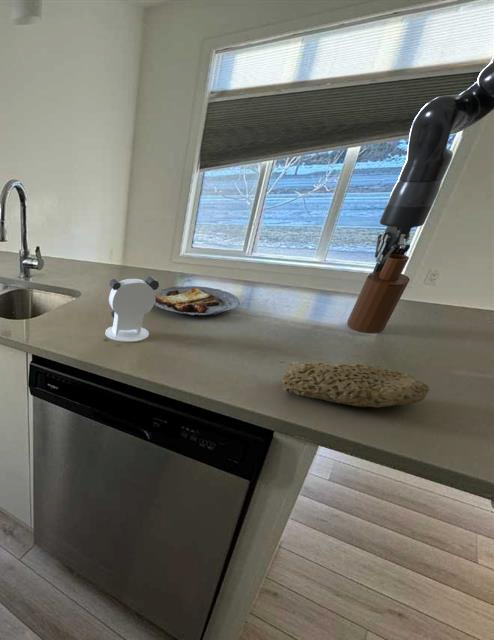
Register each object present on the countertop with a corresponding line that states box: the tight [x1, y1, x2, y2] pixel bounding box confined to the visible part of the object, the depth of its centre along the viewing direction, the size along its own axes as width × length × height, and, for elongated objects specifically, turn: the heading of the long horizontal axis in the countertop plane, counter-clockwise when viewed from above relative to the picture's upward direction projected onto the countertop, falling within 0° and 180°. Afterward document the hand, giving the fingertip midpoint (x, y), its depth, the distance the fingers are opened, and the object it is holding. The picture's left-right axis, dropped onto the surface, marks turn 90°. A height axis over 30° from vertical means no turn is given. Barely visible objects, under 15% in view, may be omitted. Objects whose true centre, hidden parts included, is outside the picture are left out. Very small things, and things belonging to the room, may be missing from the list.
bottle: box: [346, 254, 410, 334], centre depth 96 cm, size 7×7×18 cm
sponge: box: [281, 361, 430, 408], centre depth 75 cm, size 13×8×20 cm
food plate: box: [154, 285, 241, 317], centre depth 123 cm, size 25×23×4 cm
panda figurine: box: [104, 276, 160, 343], centre depth 107 cm, size 12×11×15 cm
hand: (377, 278), depth 99 cm, fingers closed
